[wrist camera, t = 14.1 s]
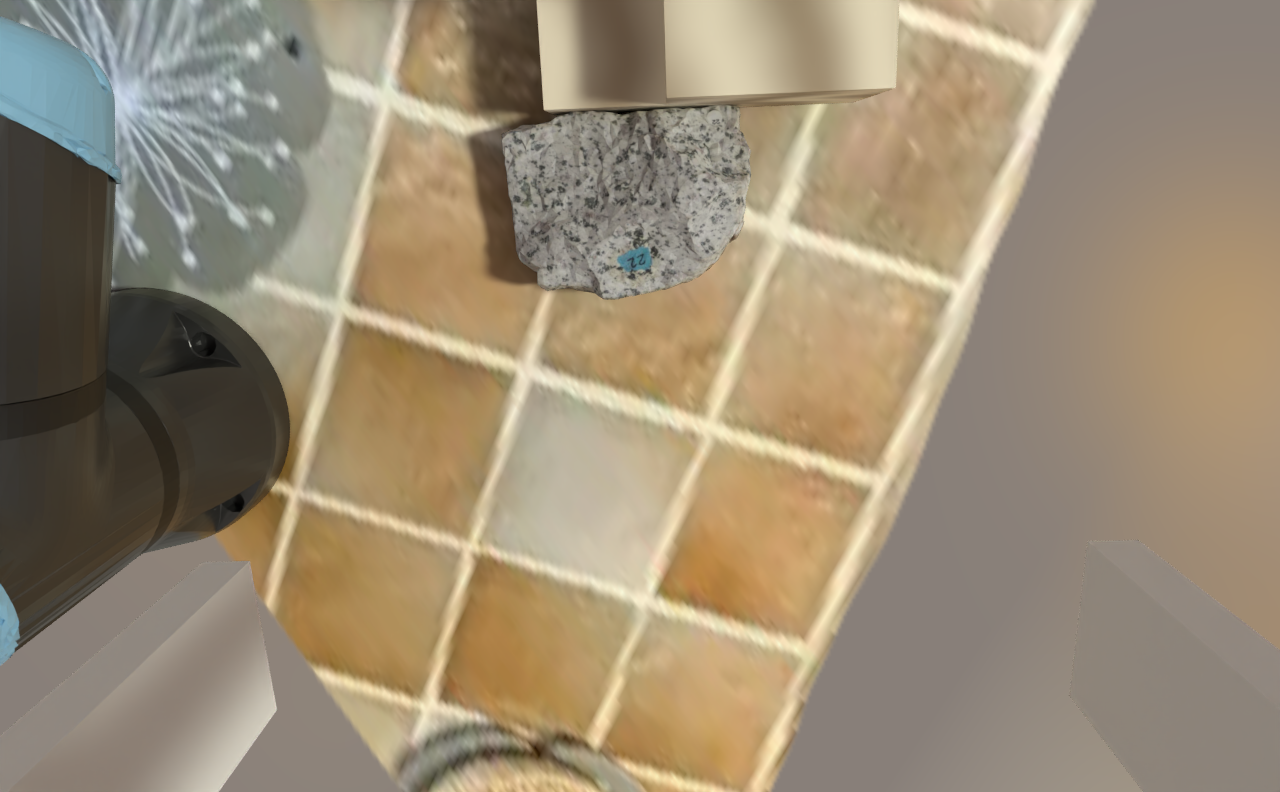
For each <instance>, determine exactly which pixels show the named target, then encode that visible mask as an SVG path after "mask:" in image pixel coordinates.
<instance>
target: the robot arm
mask: <svg viewBox="0 0 1280 792" xmlns="http://www.w3.org/2000/svg"><path fill="white" fill-rule="evenodd" d="M121 177H122V174H121V170H120V169H119V168H118V166H117V165H116V164H115V101H114V94H113V90H112V87H111V84H110V82H109V80H108V78H107V76H106V75H105V73H104V72H103V70H102V69H101V68H100V67H99V66H98V64H97V63H96V62H95V61H94V60H93V59H92V58H90V57H89V56H88V55H87V54H86V53H84V52H83V51H81V50H80V49H78V48H76V47H75V46H73V45H71V44H69V43H67V42H65V41H62V40H60V39H58V38H55V37H53V36H50V35H48V34H46V33H43V32H41V31H38V30H36V29H33V28H31V27H28V26H25V25H23V24H20V23H17V22H15V21H12V20H9V19H7V18H4V17H1V16H0V666H1V665H2V664H3V663H4V662H5V661H7V660H8V659H9V658H10V657H11V656H12V654H13V653H14V652H16V651H17V650H18V649H19V648H21V647H22V646H23V645H25V644H26V643H27V642H28V641H30V640H31V639H32V638H34V637H35V636H36V635H37V634H39V633H40V632H41V631H43V630H44V629H45V628H47V627H48V626H49V625H51V624H52V623H53V622H54V621H56V620H57V619H58V618H60V617H61V616H62V615H63V614H65V613H66V612H67V611H69V610H70V609H71V608H72V607H74V606H75V605H76V604H78V603H79V602H80V601H81V600H83V599H84V598H85V597H87V596H88V595H89V594H91V593H92V592H93V591H95V590H96V589H97V588H98V587H100V586H101V585H102V584H103V583H105V582H106V581H107V580H108V579H110V578H111V577H113V576H114V575H115V574H117V573H118V572H119V571H120V570H122V569H123V568H124V567H126V566H127V565H128V564H129V563H131V562H132V561H133V560H134V559H136V558H137V557H138V556H139V555H141V554H142V553H147V552H151V551H155V550H160V549H164V548H168V547H172V546H176V545H181V544H185V543H189V542H194V541H197V540H201V539H204V538H206V537H209V536H211V535H213V534H216V533H218V532H220V531H222V530H224V529H225V528H227V527H229V526H230V525H232V524H233V523H235V522H236V521H238V520H239V519H240V518H241V517H242V516H244V515H245V514H246V513H247V512H248V511H250V510H251V509H252V508H253V507H255V506H256V505H257V504H258V503H259V502H260V501H261V500H262V499H263V498H264V497H265V496H266V495H267V494H268V492H269V491H270V490H271V488H272V487H273V486H274V484H275V482H276V481H277V479H278V477H279V475H280V473H281V471H282V468H283V465H284V463H285V459H286V456H287V451H288V446H289V438H290V421H289V412H288V407H287V402H286V398H285V394H284V391H283V388H282V385H281V383H280V381H279V378H278V376H277V374H276V372H275V370H274V368H273V366H272V365H271V363H270V361H269V360H268V358H267V357H266V355H265V354H264V352H263V351H262V349H261V348H260V347H259V346H258V345H257V343H256V342H255V341H254V340H253V339H252V338H251V337H250V336H249V334H248V333H246V332H245V331H244V330H243V329H242V328H241V327H240V326H239V325H238V324H236V323H235V322H234V321H233V320H232V319H230V318H229V317H227V316H226V315H225V314H223V313H221V312H220V311H218V310H217V309H215V308H213V307H211V306H209V305H208V304H206V303H203V302H201V301H199V300H197V299H194V298H192V297H189V296H186V295H183V294H179V293H175V292H171V291H166V290H159V289H127V290H121V291H116V292H112V293H111V281H112V258H113V235H114V212H115V188H116V184H121ZM1069 696H1070V698H1071V699H1072V700H1073V701H1074V703H1075V704H1076V705H1077V707H1078V708H1079V709H1080V710H1081V712H1082V713H1083V714H1084V716H1085V717H1086V718H1087V720H1088V721H1089V722H1090V723H1091V724H1092V726H1093V727H1094V729H1095V730H1096V731H1097V733H1098V734H1099V735H1100V736H1101V738H1102V739H1103V740H1104V741H1105V743H1106V744H1107V745H1108V747H1109V748H1110V749H1111V751H1112V752H1113V753H1114V755H1115V756H1116V757H1117V758H1118V760H1119V761H1120V762H1121V764H1122V765H1123V766H1124V767H1125V769H1126V770H1127V771H1128V773H1129V774H1130V775H1131V777H1132V778H1133V779H1134V780H1135V782H1136V783H1137V784H1138V786H1139V787H1140V788H1141V789H1142V791H1143V792H1280V650H1279V649H1278V648H1276V647H1275V646H1274V645H1273V644H1271V643H1270V642H1269V641H1268V640H1266V639H1265V638H1264V637H1262V636H1261V635H1260V634H1259V633H1257V632H1256V631H1255V630H1253V629H1252V628H1251V627H1250V626H1248V625H1247V624H1246V623H1244V622H1243V621H1242V620H1241V619H1239V618H1238V617H1237V616H1235V615H1234V614H1233V613H1231V612H1230V611H1229V610H1228V609H1226V608H1225V607H1224V606H1223V605H1221V604H1220V603H1219V602H1217V601H1216V600H1215V599H1213V598H1212V597H1211V596H1210V595H1209V594H1207V593H1206V592H1205V591H1203V590H1202V589H1201V588H1200V587H1198V586H1197V585H1196V584H1194V583H1193V582H1191V580H1189V579H1188V578H1186V577H1185V576H1184V575H1183V574H1182V573H1180V572H1179V571H1178V570H1176V569H1175V568H1174V567H1173V566H1171V565H1170V564H1169V563H1167V562H1166V561H1165V560H1163V559H1162V558H1161V557H1160V556H1158V555H1157V554H1156V553H1155V552H1153V551H1152V550H1151V549H1149V548H1148V547H1147V546H1146V545H1144V544H1143V543H1142V542H1140V541H1139V540H1115V541H1114V540H1113V541H1088V542H1087V550H1086V560H1085V567H1084V576H1083V584H1082V593H1081V602H1080V610H1079V618H1078V627H1077V635H1076V644H1075V652H1074V661H1073V669H1072V679H1071V687H1070V695H1069ZM276 710H277V708H276V702H275V697H274V692H273V686H272V680H271V675H270V670H269V664H268V659H267V653H266V648H265V642H264V637H263V631H262V626H261V621H260V615H259V610H258V604H257V599H256V593H255V588H254V582H253V577H252V571H251V566H250V561H233V562H202V563H201V564H200V565H199V566H198V567H197V568H195V569H194V570H193V571H192V572H191V573H189V574H188V575H187V576H186V577H185V578H184V579H182V580H181V581H180V582H179V583H178V584H177V585H176V586H174V587H173V588H172V589H171V590H170V591H168V592H167V593H166V594H165V595H164V596H163V597H162V598H160V599H159V600H158V601H157V602H156V603H154V604H153V605H152V606H151V607H150V608H149V609H147V610H146V611H145V612H144V613H143V614H142V615H140V617H138V618H137V619H136V620H135V621H133V622H132V623H131V624H130V625H129V626H128V627H126V628H125V629H124V630H123V631H122V632H121V633H119V634H118V635H117V636H116V637H115V638H114V639H112V640H111V641H110V642H109V643H108V644H107V645H105V646H104V647H103V648H102V649H101V650H100V651H98V652H97V653H96V654H95V655H94V656H93V657H91V658H90V659H89V660H88V661H87V662H86V663H84V664H83V665H82V666H81V667H80V668H79V669H78V670H76V671H75V672H74V673H73V674H72V675H70V676H69V677H68V678H67V679H66V680H65V681H63V682H62V683H61V684H60V685H59V686H58V687H56V688H55V689H54V690H53V691H52V692H51V693H49V694H48V695H47V696H46V697H45V698H44V699H42V700H41V701H40V702H39V703H38V704H37V705H35V706H34V707H33V708H32V709H31V710H29V711H28V712H27V713H26V714H25V715H24V716H22V717H21V718H20V719H19V720H18V721H17V722H15V723H14V724H13V725H12V726H11V727H10V728H8V729H7V730H6V731H5V732H4V733H3V734H1V735H0V792H219V790H220V789H221V788H222V786H223V785H224V783H225V782H226V781H227V779H228V778H229V776H230V775H231V774H232V772H233V771H234V769H235V768H236V767H237V765H238V764H239V762H240V761H241V760H242V758H243V757H244V755H245V754H246V752H247V751H248V749H249V748H250V747H251V745H252V744H253V743H254V741H255V740H256V738H257V737H258V736H259V734H260V733H261V731H262V730H263V729H264V727H265V726H266V724H267V723H268V722H269V720H270V719H271V717H272V716H273V714H274V713H275V712H276Z"/></svg>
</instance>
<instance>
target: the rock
mask: <svg viewBox="0 0 1280 792" xmlns="http://www.w3.org/2000/svg"><path fill="white" fill-rule="evenodd" d="M502 148H503V154H504V156H505V166H506V171H507V182H508V192H509V198H510V201H511V206H512V214H513V224H514V231H515V240H516V251H517V254H518V257H519V259H520V260H521V262H522V263H523V264H525V265H527V266H528V267H529V268H531V269H532V270H534V271H536V272H537V277H538V285H539V286H540V287H541V288H543V289H545V290H547V291H549V290H556V289H564V288H573V289H575V290H580V291H586V292H591V293H595V294H597V295H598V296H599V297H601V298H603V299H605V300H608V299H620V298H624V297H628V296H636V295H640V294H646V293H651V292H655V291H658V290H666V289H668V288H671V287H674V286H676V285H679V284H681V283H686V282H690V281H692V280H693V279H695V278H697V277H699V276H700V275H702V274H703V273H704V272H705V271H707V270H708V269H710V268H711V266H712V265H713V264H714V263H715V262H717V260H718V259H719V257H720V256H721V255H722V254H723V252H724V250H725V248H726V246H727V244H728V243H730V242H731V241H733V240H735V239H736V238H737V237H738V235H739V233H740V231H741V229H742V227H743V224H744V221H743V217H744V213H745V208H746V194H747V190H748V187H749V183H750V177H751V172H750V162H749V159H750V153H751V150H750V148H749V146H748V145H747V142H746V140H745V138H744V135H743V133H742V132H741V131H740V110H739V107H734V106H730V105H716V106H708V107H699V108H689V107H688V108H685V109H681V108H668V109H656V110H651V111H636V112H633V113H629V114H625V115H620V114H616V113H611V112H595V111H587V112H577V111H574V112H569V114H565V115H562V116H558V117H555V118H554V119H553V120H552V121H550V122H545V123H542V124H537V125H522V126H520V127H518V128H517V129H513V130H509V131H507V132H505V133H503V134H502Z"/></svg>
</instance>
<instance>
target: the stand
mask: <svg viewBox="0 0 1280 792" xmlns="http://www.w3.org/2000/svg"><path fill="white" fill-rule="evenodd" d="M537 15H538V30H539V45H540V60H541V75H542V90H543V105H544V110H545V111H547V112H549V113H551V114H553V115H565V114H569V112H574V111H577V112H587V111H595V112H611V113H617V112H636V111H651V110H656V109H668V108H681V109H685V108H688V107H689V108H699V107H708V106H716V105H730V106H734V107H757V106H780V105H803V104H827V103H850V102H856V101H859V100H862V99H865V98H868V97H871V96H874V95H877V94H880V93H883V92H885V91H888V90H891V89H894V88H896V69H897V46H898V22H899V0H537Z"/></svg>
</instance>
